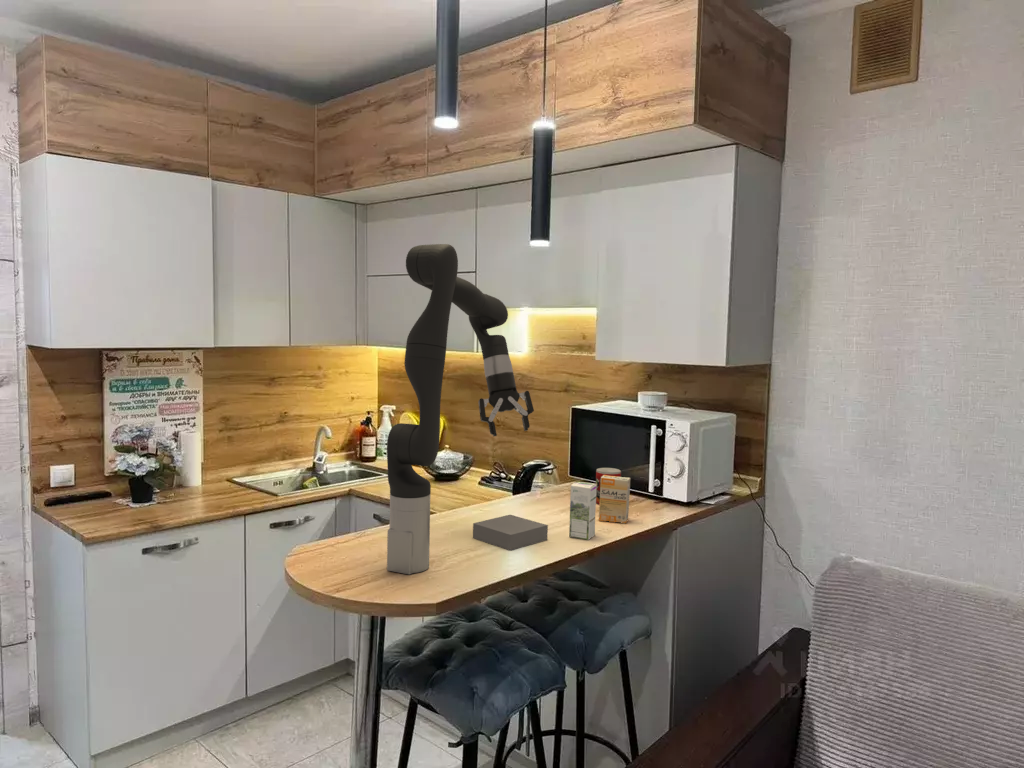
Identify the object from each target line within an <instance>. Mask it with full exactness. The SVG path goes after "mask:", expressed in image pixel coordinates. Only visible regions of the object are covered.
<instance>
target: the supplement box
mask: <svg viewBox="0 0 1024 768" xmlns="http://www.w3.org/2000/svg"><path fill="white" fill-rule="evenodd" d="M630 490H631V477H625V476H624V477H622V476H621V477H617V476H608V475H603V476H602V477H601V484H600V504H598V505H599V507H598V510H599V511H598V521H600V522H606V521H609V522H608V523H615V522H622V523H621V524H623V523H626V524H627V523H628V521H629V512H630V508H629V507H630V492H631V491H630ZM627 520H628V521H627Z"/></svg>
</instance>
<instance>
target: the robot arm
mask: <svg viewBox="0 0 1024 768" xmlns="http://www.w3.org/2000/svg"><path fill="white" fill-rule="evenodd" d="M405 258H406V259H405V268H406V272H407V275H408V276H409V278H410V279H411V280H412V281H413V282H415V283H416V284H418V285H420V286H422V287H424V288H426V289H428V290H430V291H431V293H430V297H429V300H428V302H427V305H426V306H425V308H424V310H423V311H422V313H421V314H420V316H419V317H418V319H417V320H416V321H415V322H414V324H413V326H412V328H411V330H409V333H408V335H407V339H406V343H405V344H406V345H405V355H404V369H405V373H406V375H407V378H408V380H409V383H410V384H411V386H412V389H413V390H414V392H415V395H416V398H417V400H418V401H417V402H418V407H419V420H418V421H419V423H418V424H417V423H416V424H414V423H413V424H412V423H404V422H403V423H395V424H394V425H393V426H392V427H391V429H390V430H389V432H388V436H387V439H386V440H387V441H386V460H387V481H388V487H389V529H387V535H386V536H387V541H386V543H387V544H386V546H387V547H386V549H387V550H386V551H387V552H386V570H387V571H389V572H395V573H400V574H405V575H412V574H416V573H421V572H424V571H426V570H428V569H429V568H430V539H431V537H430V536H431V535H430V534H431V531H430V530H431V529H430V528H431V493H432V492H431V491H432V488H431V487H432V486H431V482H430V481H429V479H427V478H425V477H424V476H423V475H420V474H419V473H418V472H416V470H415V469H414V468H413V466H418V467H419V466H420V467H429V466H432V465H433V464H434V462H435V461H436V459H437V458H438V457H437V456H438V453H439V448H440V431H441V401H442V399H441V398H442V387H443V378H444V370H445V365H446V364H445V363H446V353H447V342H448V333H449V332H448V331H449V325H450V324H449V322H450V317H451V316H450V315H451V308H452V304H453V305H455V306H456V307H458V308H459V309H460V311H462V312H463V313H465V314H466V315H467V316H468V321H469V324H470V326H471V328H472V329H473V332H474V333H475V336H476V337H477V340H478V342H479V346H480V349H481V354H482V359H483V369H484V370H483V371H484V376H485V381H486V386H487V390H488V398H482V397H481V398H479V400H478V403H477V404H478V411H479V418H480V419H479V420H480V421H481V422H483V423H486V424H488V429H489V432H490V433H489V434H490V435H491V436H492V437H497V435H498V433H497V429H496V425H495V421H494V419H495V417H496V415H497V414H498V413H504V412H506V411H507V412H510V411H513V410H514V411H516V412H517V413H519V415H520V416H521V422H522V426H523V431H524V432H527V431H529V428H530V427H531V426H530V421H529V415H531V414H532V413H533V412H534V411H535V410H534V406H533V405H534V404H533V401H532V398H531V394H530V393H531V392H530V391H529V390H525V391H523V392H518V390H517V386H516V381H515V373H514V370H513V365H512V360H511V358H510V354H509V349H508V343H507V339H506V337H505V336H504V335H502V334H489V332H488V330H489V329H492V328H496V327H501V326H502V325H504V324H505V323H506V322H507V320H508V317H509V312H508V309H507V307H506V305H505V304H504V302H503V301H501V300H500V298H499V299H498V298H497V297H494V296H492V295H490V294H487V293H483V291H481V289H479V288H478V287H477V286H476V285H474V284H473V282H470V281H468V280H467V279H464V278H461V277H459V276H458V271H459V259H458V253H457V250H456V249H455V247H454V246H453V245H451V244H450V243H449V244H448V243H438V244H437V243H436V244H435V243H433V244H420V245H416V246H413V247H411V248H410V249H409V250H408V252H407V254H406V257H405ZM520 398H521V399H522V401H524V403H525V405H526V410H525V408H524V407H523V406H522V405H521V404H519V399H520ZM488 404H489V405H491V406H492V407H493V408H492V411H491V413H490V414H489V416H487V415H486V408H487V406H488Z"/></svg>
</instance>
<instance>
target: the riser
mask: <svg viewBox="0 0 1024 768" xmlns="http://www.w3.org/2000/svg"><path fill="white" fill-rule="evenodd" d="M548 527H549V525H548V524H545V523H542V522H537V521H535V520H531V519H528V518H524V517H520V516H516V515H513V514H507V515H503V516H499V517H494V518H490V519H486V520H485V519H484V520H481V521H477V522H473V523H472V539H475V540H477V541H481V542H483V543H486V544H490V545H492V546H496V547H499V548H502V549H505V550H508V551H512V550H513V551H514V550H517V549H520V548H523V547H527V546H532V545H535V544H537V543H541V542H545V541H548V533H549V532H548Z"/></svg>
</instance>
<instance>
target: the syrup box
mask: <svg viewBox="0 0 1024 768" xmlns="http://www.w3.org/2000/svg"><path fill="white" fill-rule="evenodd" d="M596 488H597V485H596V483H592V482H584V481H576V482H573V483H572V484H570V498H569V499H570V502H569V527H568V528H569V532H568V533H569V534H568V535H569V538H575V539H580V540H585V541H589V540H591V539H592V538H593V537H594V536H595V534H596V509H597V503H596ZM591 537H592V538H591ZM590 538H591V539H590Z"/></svg>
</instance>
